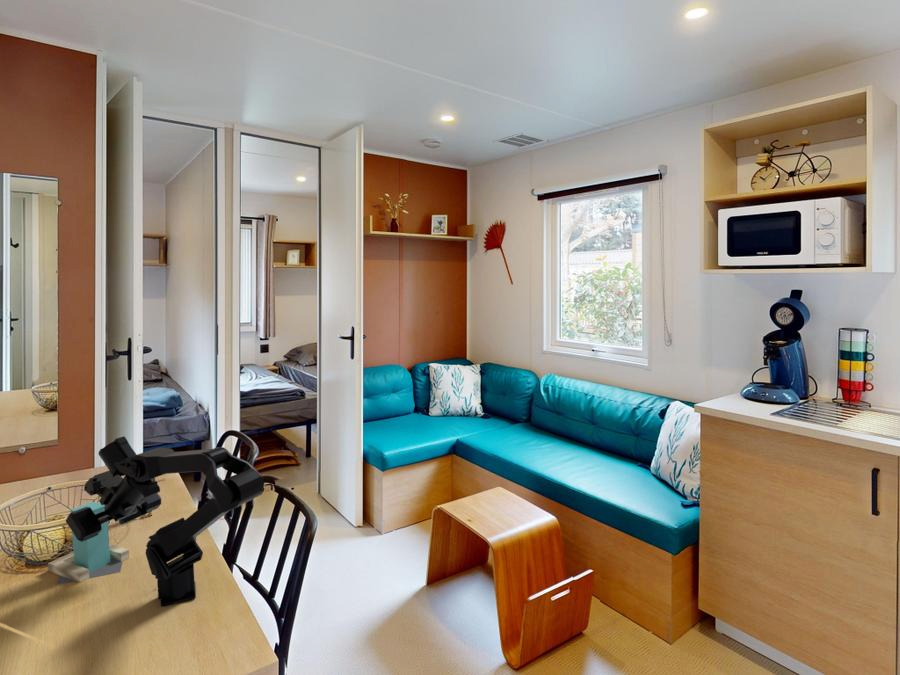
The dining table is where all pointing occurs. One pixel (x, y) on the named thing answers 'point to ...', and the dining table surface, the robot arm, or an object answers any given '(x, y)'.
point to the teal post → (92, 544)
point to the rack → (77, 573)
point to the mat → (97, 571)
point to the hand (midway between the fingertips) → (101, 531)
